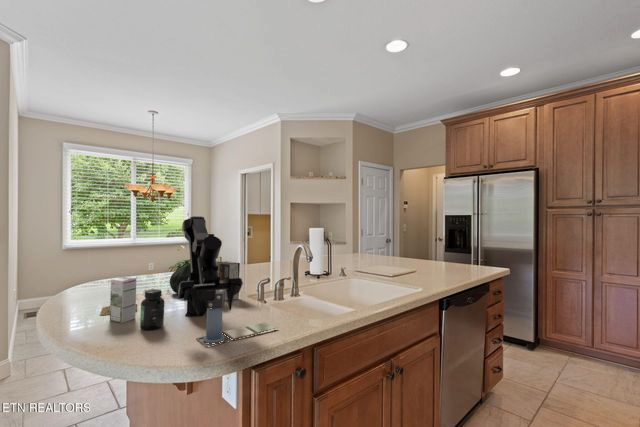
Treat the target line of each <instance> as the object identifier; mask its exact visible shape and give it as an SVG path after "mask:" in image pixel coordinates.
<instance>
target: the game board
mask: <svg viewBox="0 0 640 427" xmlns="http://www.w3.org/2000/svg"><path fill="white" fill-rule="evenodd" d="M275 328H277V326H274V325H272V324H270V323H268V322H261V323H255V324H252V325H247V326H244V327H243V326H242V327H238V328H233V329H230V330H229V329H228V330H224V331H222V333H223V335H224V334H225V335H226V336H225V335H224V338H225V337H226V338H227V339H229V340H227V339H226V338H225V339H226V340H224V341H223V342H227V343H229V342H228V341H231V339H233V340H235V339H239V338H243V337H247V336H251V335H255V334H258V333H261V332H264V331H268V330H271V329H275ZM204 336H205V335H203V336H199V337H196V338H195V340H198V341H197V342H199V343H200V344H201V345H202V346H203V345H204V346H205V347H204V348H206V347H207V348H209V347H208V346H211V347H213V346H212V345H215V344H219V345H221V344H220V343H223V342H220V343H215V344H205V343H204V342H203V340H201V338H202V339H203V337H204ZM227 336H228V337H229V338H228V337H227ZM230 338H231V339H230ZM223 344H224V343H223ZM215 346H216V345H215Z"/></svg>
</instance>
